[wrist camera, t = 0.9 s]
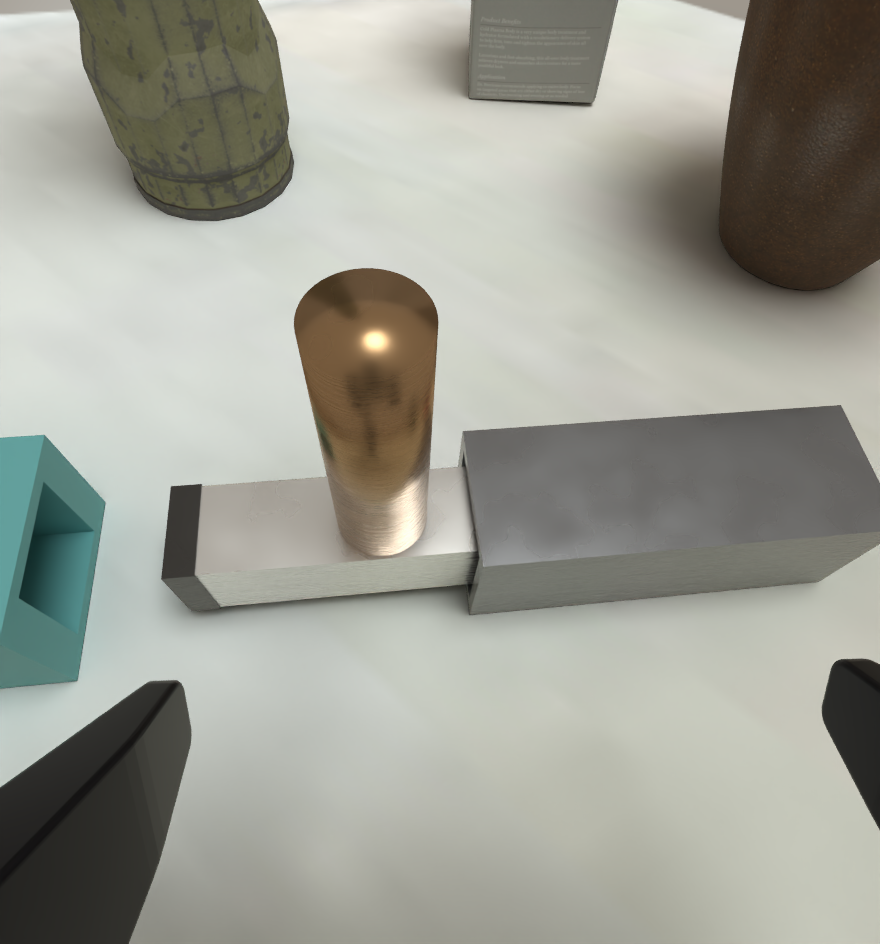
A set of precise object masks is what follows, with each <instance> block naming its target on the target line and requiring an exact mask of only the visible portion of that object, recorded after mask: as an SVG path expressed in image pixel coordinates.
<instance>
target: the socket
mask: <svg viewBox="0 0 880 944" xmlns="http://www.w3.org/2000/svg"><path fill="white" fill-rule="evenodd" d="M104 508H105V501H104V500H103V499H102V498H101V497H100V496H99V495H98V494H97V492H96V491H95V490H94V489H93V488H92V487H91V486H90V485H89V484H88V482H87V481H86V480H85V479H84V478H83V477H82V476H81V475H80V474H79V473H78V471H77V470H76V469H75V468H74V467H73V466H72V465H71V464H70V463H69V461H68V460H67V459H66V458H65V457H64V456H63V455H62V454H61V453H60V451H59V450H58V449H57V448H56V447H55V446H54V445H53V444H52V443H51V442H50V440H49V439H48V438H47V437H46V436H45V435H36V436H21V437H6V438H0V688H11V687H21V686H31V685H41V684H51V683H61V682H71V681H77V679H78V672H79V666H80V660H81V653H82V647H83V641H84V634H85V628H86V622H87V615H88V609H89V603H90V596H91V590H92V584H93V577H94V571H95V565H96V558H97V552H98V546H99V539H100V533H101V527H102V520H103V514H104Z"/></svg>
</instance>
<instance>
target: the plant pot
mask: <svg viewBox="0 0 880 944" xmlns="http://www.w3.org/2000/svg"><path fill="white" fill-rule="evenodd" d="M719 232H720V237H721V240H722V243H723V245H724V247H725V249H726V250H727V252H728V253H729V255H730V256H731V257H732V258H733V259H734V260H735V261H736V262H737V263H738V264H739V265H740V266H742V267H743V268H744V269H745V270H747V271H748V272H750V273H752V274H753V275H755V276H757V277H759V278H761V279H763V280H765V281H767V282H770V283H773V284H776V285H779V286H783V287H786V288H792V289H800V290H816V289H822V288H827V287H831V286H834V285H836V284H838V283H840V282H842V281H844V280H846V279H847V278H849V277H851V276H852V275H854V274H856V273H858V272H859V271H861V270H863V269H864V268H866V267H868V266H869V265H871V264H873V263H874V262H876V261H878V260H879V259H880V0H750V3H749V8H748V12H747V17H746V21H745V26H744V31H743V36H742V41H741V46H740V51H739V56H738V62H737V67H736V72H735V78H734V84H733V90H732V97H731V104H730V110H729V117H728V124H727V132H726V140H725V148H724V159H723V169H722V181H721V197H720V214H719Z"/></svg>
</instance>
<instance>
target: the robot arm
mask: <svg viewBox="0 0 880 944" xmlns="http://www.w3.org/2000/svg"><path fill="white" fill-rule="evenodd" d="M822 717H823V721H824V724H825V726H826V728H827V730H828V732H829V734H830V736H831V738H832V740H833V742H834V744H835V746H836V748H837V750H838V752H839V753H840V755H841V757H842V759H843V761H844V763H845V765H846V767H847V769H848V771H849V773H850V775H851V777H852V779H853V780H854V782H855V784H856V786H857V788H858V790H859V792H860V794H861V796H862V798H863V800H864V802H865V804H866V806H867V808H868V809H869V811H870V813H871V815H872V817H873V819H874V820H875V822H876V824H877V826H878V828H879V829H880V664H878V663H876V662H874V661H871V660H868V659H841V660H838V661H836V662H835V663H834V664H833V666H832V668H831V671H830V675H829V679H828V683H827V687H826V691H825V696H824V700H823V704H822ZM190 744H191V725H190V719H189V713H188V708H187V702H186V697H185V691H184V688H183V686H182V684H181V683H180V682H179V681H177V680H168V681H150V682H148V683H146V684H144V685H143V686H142V687H140V688H139V689H137V690H136V691H135V692H133V693H132V694H130V695H129V696H128V697H126V698H125V699H123V700H122V701H121V702H119V703H118V704H116V705H115V706H114V707H112V708H111V709H109V710H108V711H107V712H105V713H104V714H102V715H101V716H100V717H98V718H97V719H95V720H94V721H93V722H91V723H90V724H88V725H87V726H86V727H84V728H83V729H81V730H80V731H79V732H77V733H76V734H74V735H73V736H72V737H70V738H69V739H67V740H66V741H65V742H63V743H62V744H60V745H59V746H58V747H56V748H55V749H53V750H52V751H51V752H49V753H48V754H46V755H45V756H44V757H42V758H41V759H39V760H38V761H37V762H35V763H34V764H32V765H31V766H30V767H28V768H27V769H25V770H24V771H23V772H21V773H20V774H18V775H17V776H16V777H14V778H13V779H11V780H10V781H9V782H7V783H6V784H4V785H3V786H2V787H0V944H129V941H130V939H131V936H132V933H133V931H134V928H135V926H136V923H137V920H138V918H139V915H140V912H141V910H142V907H143V904H144V902H145V899H146V896H147V894H148V891H149V889H150V886H151V883H152V881H153V878H154V875H155V872H156V869H157V866H158V864H159V861H160V857H161V854H162V851H163V847H164V844H165V840H166V836H167V833H168V829H169V825H170V821H171V817H172V814H173V810H174V806H175V802H176V798H177V795H178V791H179V787H180V783H181V779H182V776H183V772H184V768H185V764H186V760H187V757H188V753H189V749H190Z"/></svg>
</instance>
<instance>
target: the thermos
mask: <svg viewBox="0 0 880 944" xmlns="http://www.w3.org/2000/svg"><path fill="white" fill-rule="evenodd" d="M70 1H71V4H72V6H73V8H74V11H75V13H76V16H77V18H78V21H79V28H80V44H81V54H82V61H83V66H84V69H85V71H86V74H87V76H88V78H89V81H90V83H91V85H92V88H93V90H94V93H95V95H96V97H97V100H98V102H99V104H100V107H101V109H102V112H103V114H104V116H105V119H106V121H107V124H108V126H109V128H110V131H111V133H112V135H113V138H114V140H115V143H116V145H117V147H118V148H119V149H120V150H121V152H122V153H123V154H124V155H125V156H126V158H127V159H128V161H129V164H130V166H131V169H132V171H133V174H134V180H135V182H136V185H137V187H138V189H139V191H140V192H141V193H142V195H143V196H144V197H145V198H146V200H147V201H148V202H149V203H150V204H151V205H153V206H155V207H156V208H158V209H160V210H162V211H163V212H165V213H167V214H169V215H173V216H177V217H181V218H185V219H189V220H216V221H217V220H222V219H228V218H233V217H238V216H243V215H245V214H248V213H250V212H253V211H255V210H257V209H260V208H262V207H264V206H266V205H267V204H268V203H270V202H271V201H272V200H274V199H275V198H276V197H278V196H279V195H280V194H281V193H282V192H283V191H284V189H285V188H286V186H287V185H288V183H289V182H290V180H291V178H292V172H293V165H294V161H293V155H292V151H291V149H290V146H289V140H288V134H287V130H288V124H289V113H288V107H287V101H286V95H285V89H284V83H283V77H282V71H281V64H280V58H279V52H278V46H277V40H276V37H275V35H274V33H273V30H272V28H271V25H270V23H269V21H268V19H267V17H266V15H265V13H264V11H263V9H262V7H261V5H260V3H259V1H258V0H70Z"/></svg>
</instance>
